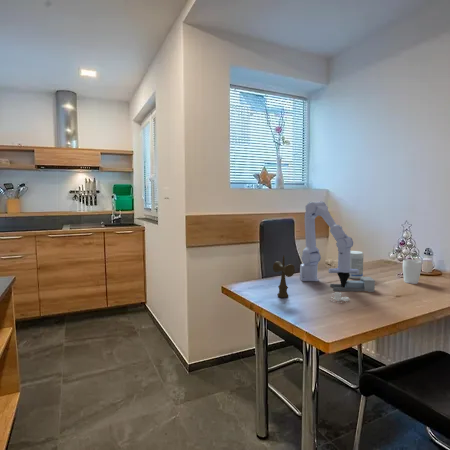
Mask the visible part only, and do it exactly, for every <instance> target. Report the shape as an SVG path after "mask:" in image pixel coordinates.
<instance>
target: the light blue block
mask: <svg viewBox="0 0 450 450" xmlns="http://www.w3.org/2000/svg"><path fill="white" fill-rule="evenodd" d="M345 288H364V281H360V280H347V282H346V284H345Z"/></svg>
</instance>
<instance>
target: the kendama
mask: <svg viewBox="0 0 450 450" xmlns="http://www.w3.org/2000/svg"><path fill="white" fill-rule="evenodd" d="M272 270H273V273H274V272H275V273H279V272H280V273H281V277H280V282H279V285H278V293H277V297H279V298H281V299H282V298H283V299H284V298H288V297H289V294H288V288H289V287H288V285H287V282H286V277H287V278H290V277H293V276H294V274H295V270H296V268H295V265H294V264H293V263H290V264H287V265H286V263H285V255H283V256H282V262H281V261H279V260H278V261H277V260H276V261H274V262H273V265H272Z"/></svg>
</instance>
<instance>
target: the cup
mask: <svg viewBox="0 0 450 450" xmlns="http://www.w3.org/2000/svg"><path fill="white" fill-rule="evenodd" d="M422 264H423V263H422V260H419V259H414V258H404V259H403V260H402V275H403V282H404V283H406V284H412V285H416V284H419V280H420V277H421V272H422V268H423V267H422Z"/></svg>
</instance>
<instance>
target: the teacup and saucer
mask: <svg viewBox="0 0 450 450" xmlns="http://www.w3.org/2000/svg"><path fill="white" fill-rule="evenodd" d="M333 295H334V298H333ZM331 298H333V299H332V300H334V301H335V300H337V301H336V302H344V301H347V302H348V301H350V297H349V296H342V291H334V292H333V293H331Z"/></svg>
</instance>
